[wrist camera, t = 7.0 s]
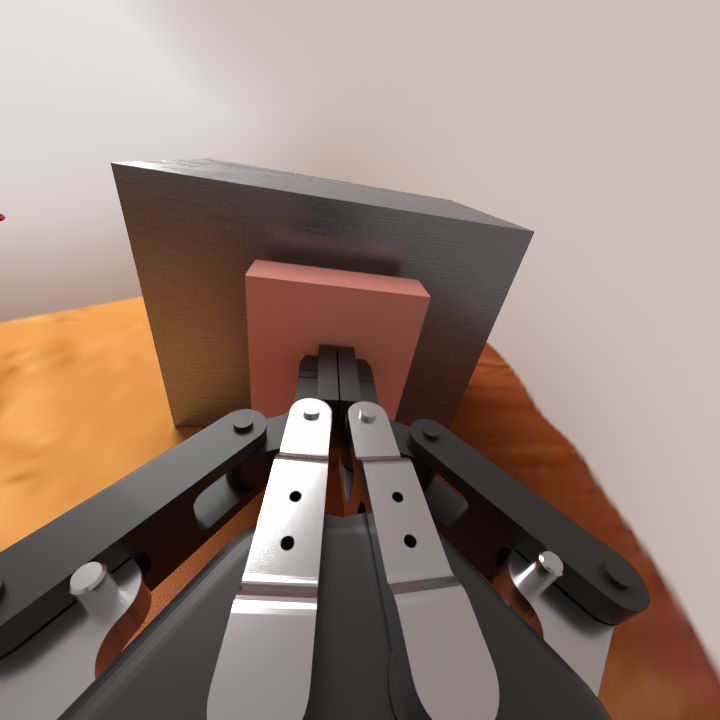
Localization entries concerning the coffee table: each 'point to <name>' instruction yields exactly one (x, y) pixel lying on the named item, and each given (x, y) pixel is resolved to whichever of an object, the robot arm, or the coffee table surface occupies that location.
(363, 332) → the plug
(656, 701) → the coffee table surface
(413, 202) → the block
